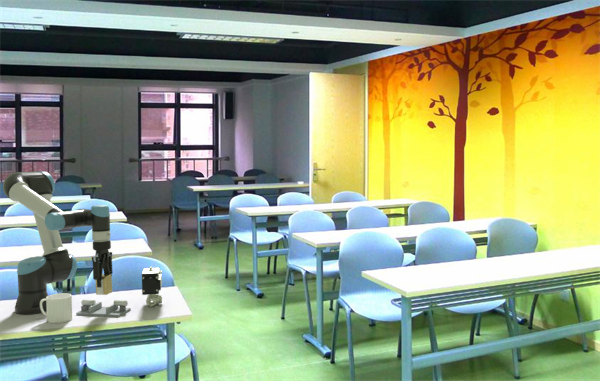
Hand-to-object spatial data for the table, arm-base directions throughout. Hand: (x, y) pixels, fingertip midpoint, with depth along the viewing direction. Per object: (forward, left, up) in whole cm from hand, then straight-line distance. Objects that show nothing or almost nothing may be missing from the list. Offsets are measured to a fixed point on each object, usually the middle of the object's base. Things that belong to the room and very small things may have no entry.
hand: (103, 292), depth 260 cm
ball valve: (+16, +16, -9) cm, 24 cm away
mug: (-14, -14, -9) cm, 22 cm away
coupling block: (0, 0, 0) cm, 0 cm away
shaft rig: (0, 0, -9) cm, 9 cm away
